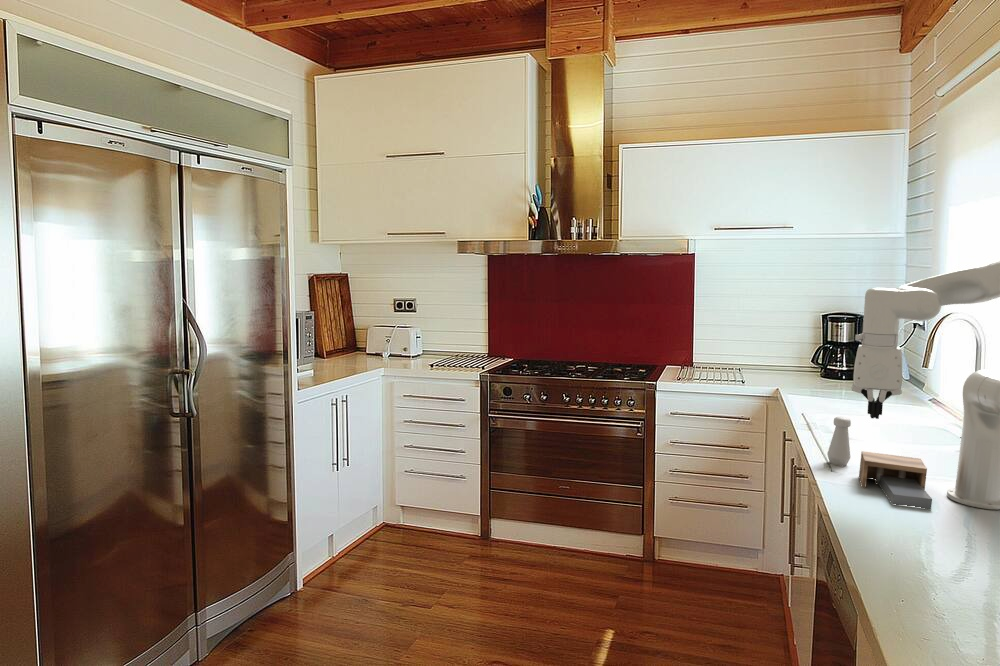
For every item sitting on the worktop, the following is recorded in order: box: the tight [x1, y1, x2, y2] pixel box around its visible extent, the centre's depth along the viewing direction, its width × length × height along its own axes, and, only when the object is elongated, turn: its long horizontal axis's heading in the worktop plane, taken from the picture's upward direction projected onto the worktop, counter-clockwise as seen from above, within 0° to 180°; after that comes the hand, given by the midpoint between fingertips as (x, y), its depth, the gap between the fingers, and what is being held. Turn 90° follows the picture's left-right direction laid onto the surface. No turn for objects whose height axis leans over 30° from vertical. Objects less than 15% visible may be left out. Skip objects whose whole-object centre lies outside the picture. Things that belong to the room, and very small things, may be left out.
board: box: [878, 475, 933, 510], centre depth 184 cm, size 16×8×3 cm, turn 164°
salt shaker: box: [826, 416, 852, 467], centre depth 210 cm, size 6×6×13 cm
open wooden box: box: [858, 450, 928, 491], centre depth 192 cm, size 10×14×7 cm
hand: (874, 417), depth 183 cm, fingers closed
